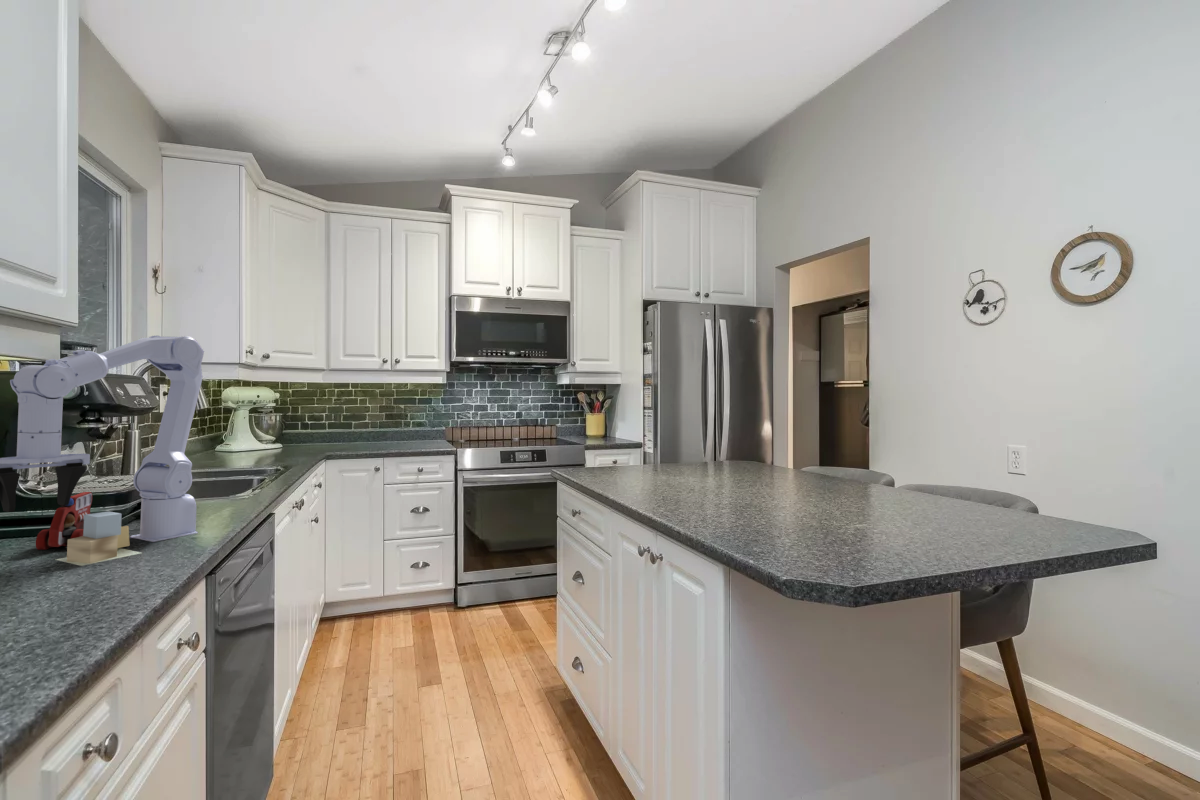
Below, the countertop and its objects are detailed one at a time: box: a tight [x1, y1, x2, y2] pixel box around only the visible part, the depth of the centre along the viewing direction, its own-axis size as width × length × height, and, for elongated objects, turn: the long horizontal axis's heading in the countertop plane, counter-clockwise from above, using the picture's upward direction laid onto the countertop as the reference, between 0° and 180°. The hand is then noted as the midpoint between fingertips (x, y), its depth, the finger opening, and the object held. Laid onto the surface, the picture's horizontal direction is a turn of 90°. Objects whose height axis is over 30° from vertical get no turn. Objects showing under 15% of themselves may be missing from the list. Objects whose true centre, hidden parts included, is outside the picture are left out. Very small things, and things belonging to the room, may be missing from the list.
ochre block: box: [117, 525, 131, 548], centre depth 115 cm, size 4×4×4 cm
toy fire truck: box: [35, 491, 93, 551], centre depth 117 cm, size 7×12×10 cm, turn 18°
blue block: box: [83, 511, 122, 539], centre depth 110 cm, size 4×4×4 cm
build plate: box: [55, 547, 142, 567], centre depth 110 cm, size 10×8×1 cm
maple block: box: [66, 535, 118, 565], centre depth 108 cm, size 5×5×4 cm
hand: (36, 507), depth 104 cm, fingers open, 7 cm apart
